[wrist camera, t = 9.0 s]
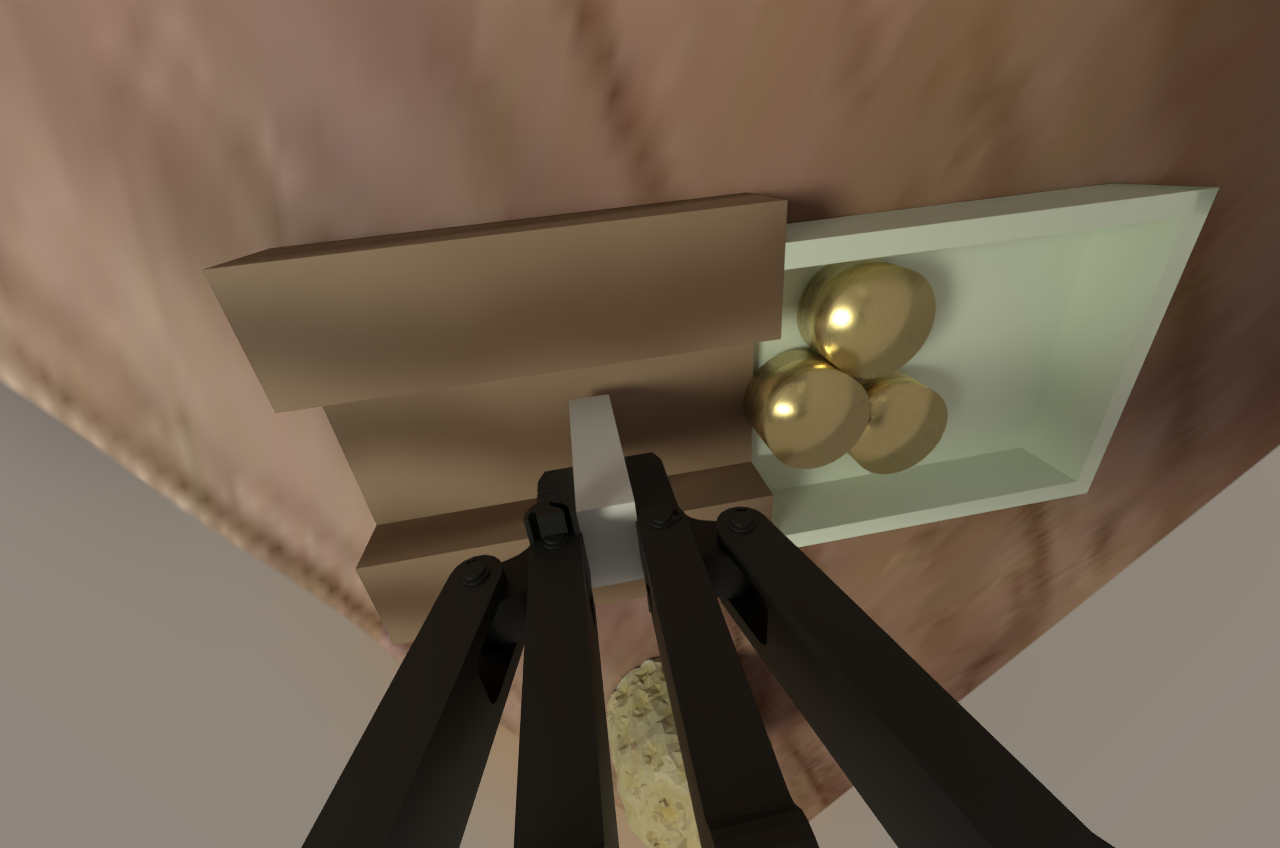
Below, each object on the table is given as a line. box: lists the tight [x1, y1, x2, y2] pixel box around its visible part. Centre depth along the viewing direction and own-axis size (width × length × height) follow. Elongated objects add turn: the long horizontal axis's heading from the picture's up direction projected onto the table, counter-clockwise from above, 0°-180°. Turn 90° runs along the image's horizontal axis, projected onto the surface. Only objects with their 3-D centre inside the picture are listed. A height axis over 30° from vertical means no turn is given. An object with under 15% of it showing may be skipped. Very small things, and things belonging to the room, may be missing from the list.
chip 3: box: [847, 369, 948, 474], centre depth 21 cm, size 4×4×2 cm
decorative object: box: [607, 657, 772, 848], centre depth 28 cm, size 9×10×10 cm
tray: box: [751, 183, 1219, 547], centre depth 20 cm, size 13×15×4 cm
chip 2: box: [744, 350, 870, 469], centre depth 19 cm, size 4×4×2 cm
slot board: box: [203, 193, 788, 645], centre depth 19 cm, size 15×16×4 cm
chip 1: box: [797, 258, 936, 379], centre depth 18 cm, size 4×4×2 cm
